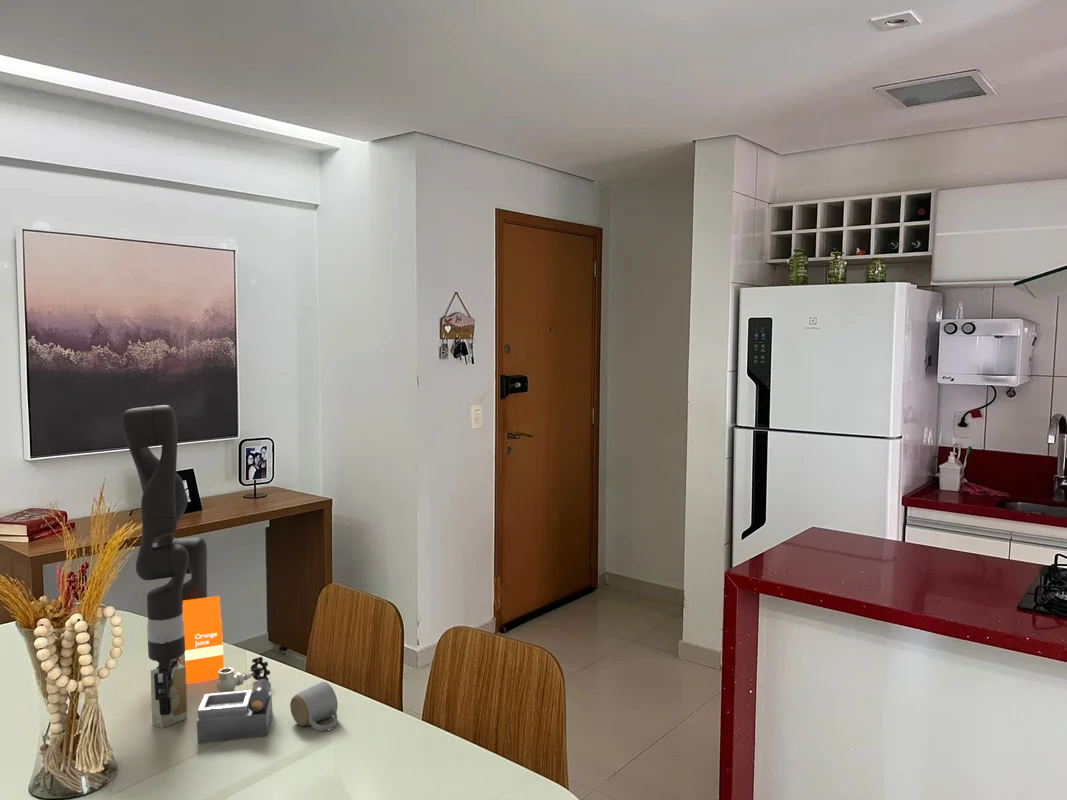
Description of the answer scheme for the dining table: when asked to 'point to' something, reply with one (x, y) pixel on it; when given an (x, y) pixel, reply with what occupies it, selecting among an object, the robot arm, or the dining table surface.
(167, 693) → the robot arm
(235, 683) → the valve
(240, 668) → the dining table surface
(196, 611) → the orange juice
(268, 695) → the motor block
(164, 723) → the skincare box
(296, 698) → the ceramic mug
